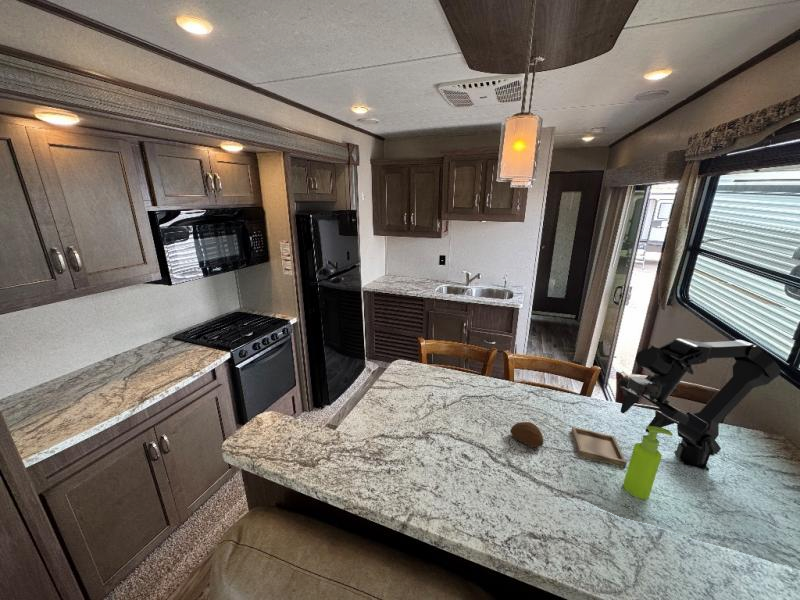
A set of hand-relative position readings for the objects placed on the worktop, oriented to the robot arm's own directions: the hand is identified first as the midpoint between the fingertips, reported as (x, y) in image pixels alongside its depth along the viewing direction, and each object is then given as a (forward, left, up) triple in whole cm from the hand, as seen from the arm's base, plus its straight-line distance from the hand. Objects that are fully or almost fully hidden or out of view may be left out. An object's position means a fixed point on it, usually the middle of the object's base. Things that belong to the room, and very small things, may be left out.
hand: (633, 421), depth 94 cm
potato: (+28, +2, -15) cm, 32 cm away
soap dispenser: (-1, +11, -15) cm, 18 cm away
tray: (+6, -4, -14) cm, 16 cm away
